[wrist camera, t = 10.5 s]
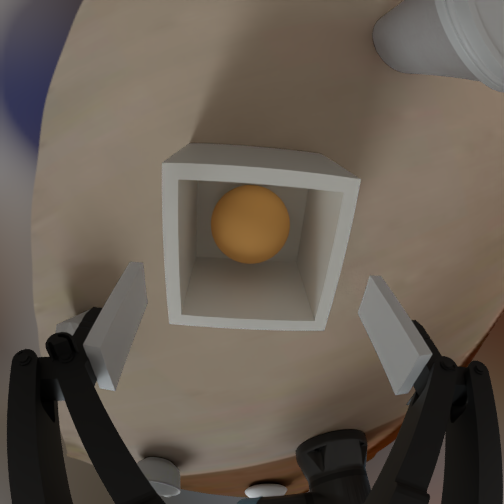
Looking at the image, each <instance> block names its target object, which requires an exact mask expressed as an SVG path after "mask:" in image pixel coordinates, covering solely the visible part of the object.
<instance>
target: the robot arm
mask: <svg viewBox="0 0 504 504" xmlns="http://www.w3.org/2000/svg"><path fill="white" fill-rule="evenodd" d="M147 304H148V301H147V294H146V285H145V276H144V266H143V262H130V263H129V264H128V266H127V268H126V269H125V271H124V273H123V274H122V276H121V278H120V279H119V281H118V283H117V284H116V286H115V288H114V289H113V291H112V293H111V294H110V296H109V298H108V300H107V301H106V303H105V305H104V307H103V308H97V307H93V308H92V309H90V310H89V311H88V312H87V313H86V314H85V315H84V317H83V319H82V322H80V324H79V326H78V327H77V329H76V331H75V333H74V334H73V336H72V335H71V334H69V333H67V332H59V333H55V334H53V335H51V336H50V337H49V338H48V340H47V342H46V349H47V352H48V354H49V356H50V357H39V358H38V357H37V355H36V353H35V352H34V351H32V350H30V349H25V350H21V351H19V352H18V353H16V354H15V356H14V357H13V360H12V365H11V373H10V383H9V394H8V411H7V454H8V471H9V482H10V491H11V499H12V504H73V502H72V498H71V494H70V490H69V484H68V480H67V474H66V469H65V463H64V457H63V451H62V444H61V436H60V426H59V416H58V402H57V401H62V400H65V402H66V405H67V407H68V410H69V412H70V415H71V417H72V420H73V422H74V425H75V427H76V429H77V432H78V434H79V436H80V438H81V441H82V443H83V445H84V447H85V449H86V451H87V453H88V455H89V457H90V459H91V461H92V463H93V465H94V467H95V469H96V471H97V473H98V474H99V477H100V478H101V480H102V482H103V483H104V485H105V487H106V489H107V491H108V492H109V494H110V496H111V497H112V499H113V501H114V502H115V504H165V503H164V501H163V500H162V499H161V497H160V496H159V495H158V494H157V492H156V491H155V489H154V488H153V487H152V485H151V484H150V483H149V481H148V480H147V478H146V477H145V475H144V474H143V472H142V471H141V469H140V468H139V466H138V465H137V463H136V462H135V460H134V459H133V457H132V455H131V454H130V452H129V451H128V449H127V447H126V446H125V444H124V442H123V441H122V439H121V437H120V435H119V434H118V432H117V430H116V428H115V427H114V425H113V423H112V421H111V419H110V417H109V416H108V414H107V412H106V410H105V408H104V406H103V404H102V402H101V400H100V398H99V396H98V394H97V392H96V390H95V388H94V386H95V383H96V381H97V382H98V385H99V387H100V388H102V389H107V390H112V391H115V390H116V387H117V385H118V382H119V379H120V376H121V373H122V370H123V367H124V364H125V361H126V359H127V356H128V353H129V350H130V348H131V345H132V342H133V340H134V337H135V334H136V332H137V329H138V326H139V324H140V321H141V319H142V316H143V314H144V311H145V309H146V306H147ZM358 315H359V317H360V319H361V321H362V323H363V325H364V327H365V329H366V331H367V333H368V335H369V337H370V340H371V342H372V344H373V346H374V348H375V350H376V352H377V355H378V357H379V359H380V361H381V363H382V366H383V368H384V370H385V372H386V375H387V377H388V379H389V382H390V384H391V386H392V388H393V391H394V393H395V395H400V394H406V393H408V392H409V391H410V389H411V388H412V386H413V385H414V388H415V390H416V392H415V393H414V394H413V396H412V397H411V399H410V400H409V402H408V403H407V404H406V405H409V404H410V405H409V408H408V411H407V413H406V416H405V418H404V421H403V424H402V426H401V428H400V431H399V433H398V436H397V438H396V440H395V443H394V445H393V447H392V449H391V452H390V454H389V456H388V458H387V460H386V462H385V464H384V466H383V469H382V471H381V473H380V475H379V477H378V479H377V480H376V482H375V484H374V486H373V488H372V490H371V488H370V484H369V480H368V477H367V473H366V468H365V467H366V457H367V440H366V437H365V434H364V433H363V432H361V431H358V430H341V431H335V432H330V433H326V434H323V435H320V436H317V437H314V438H312V439H310V440H308V441H306V442H304V443H303V444H301V445H300V446H299V447H298V448H297V450H296V459H297V463H298V465H299V467H300V468H301V470H302V472H303V474H304V475H305V477H306V479H307V481H308V483H309V489H310V492H308V493H300V494H292V495H282V496H267V497H263V496H260V497H256V498H245V499H241V500H240V501H239V502H238V503H237V504H428V503H429V500H430V495H429V494H427V488H428V485H429V483H430V480H431V477H432V474H433V472H434V469H435V466H436V463H437V459H438V456H439V453H440V449H441V446H442V442H443V439H444V435H445V431H446V444H445V447H446V448H445V469H444V483H443V493H442V501H441V504H502V502H503V501H502V500H503V478H502V477H503V475H502V456H501V444H500V434H499V427H498V419H497V412H496V406H495V400H494V395H493V390H492V385H491V380H490V376H489V371H488V369H487V367H486V366H485V365H484V364H483V363H481V362H479V361H472V362H471V363H470V364H469V366H468V367H467V368H465V367H458V366H457V365H456V363H455V362H454V361H453V360H452V359H450V358H448V357H445V356H441V354H440V353H439V351H438V349H437V348H436V346H435V345H434V343H433V342H432V340H431V339H430V337H429V335H428V334H427V332H426V331H425V329H424V328H423V326H422V325H421V324H419V323H418V322H417V321H416V320H411V319H410V317H409V316H408V314H407V313H406V311H405V310H404V308H403V307H402V305H401V304H400V302H399V301H398V300H397V298H396V297H395V295H394V294H393V292H392V291H391V289H390V288H389V286H388V285H387V284H386V282H385V281H384V279H383V278H382V277H381V276H371V275H370V277H369V280H368V283H367V286H366V290H365V293H364V296H363V299H362V302H361V305H360V308H359V311H358Z"/></svg>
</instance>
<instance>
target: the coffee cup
mask: <svg viewBox="0 0 504 504" xmlns="http://www.w3.org/2000/svg"><path fill="white" fill-rule="evenodd" d="M373 42H374V45H375V48H376V50H377V52H378V54H379V56H380V57H381V58H382V60H383V61H384V62H385V63H386V64H387V65H389V66H390V67H391V68H393V69H395V70H397V71H399V72H402V73H410V74H425V75H437V76H446V77H455V78H462V79H469V80H475V81H480V82H482V83H484V84H485V85H486V86H488V87H490V88H491V89H493V90H496V91H499V92H504V0H404V1H403V2H401V3H400V4H399V5H397V6H396V7H395V8H393V9H392V10H391V11H389V12H388V13H387V14H385V15H384V16H383V17H381V18H380V19H379V20H378V21H377V22H376V24H375V26H374V29H373Z"/></svg>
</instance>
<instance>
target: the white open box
mask: <svg viewBox="0 0 504 504" xmlns="http://www.w3.org/2000/svg"><path fill="white" fill-rule="evenodd" d="M360 182H361V179H360V178H358V177H357V176H355V175H354V174H352V173H351V172H349V171H348V170H346V169H345V168H343V167H342V166H340V165H338V164H337V163H335V162H334V161H332V160H331V159H329V158H327V157H326V156H324V155H323V154H320V153H312V152H304V151H296V150H287V149H278V148H267V147H256V146H243V145H228V144H208V143H189V144H187V145H186V146H184V147H183V148H182V149H180V150H179V151H177V152H176V153H175V154H173V155H172V156H171V157H169V158H168V159H166V160H165V161H164V162H162V217H163V245H164V264H165V279H166V292H167V304H168V315H169V324H177V325H189V326H202V327H216V328H234V329H255V330H290V331H324V330H325V326H326V323H327V320H328V316H329V313H330V309H331V306H332V302H333V299H334V295H335V291H336V288H337V284H338V280H339V276H340V272H341V269H342V265H343V261H344V256H345V252H346V248H347V244H348V240H349V235H350V231H351V226H352V222H353V217H354V212H355V207H356V203H357V198H358V192H359V187H360ZM243 185H257V186H262V187H265V188H267V189H269V190H271V191H272V192H274V193H275V194H276V195H277V196H278V197H279V198H280V199H281V200H282V201H283V203H284V204H285V206H286V208H287V211H288V214H289V218H290V230H289V235H288V238H287V240H286V242H285V244H284V246H283V247H282V249H281V250H280V251H279V252H278V253H277V254H276V255H275V256H273V257H272V258H270V259H268V260H266V261H264V262H260V263H256V264H245V263H240V262H237V261H234V260H232V259H231V258H229V257H227V256H226V255H225V254H224V253H223V252H222V251H221V250H220V249H219V248H218V246H217V245H216V243H215V241H214V239H213V236H212V232H211V217H212V213H213V210H214V208H215V206H216V204H217V202H218V201H219V200H220V199H221V197H222V196H223V195H224V194H226V193H227V192H228V191H230V190H232V189H234V188H236V187H239V186H243Z"/></svg>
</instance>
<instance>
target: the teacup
mask: <svg viewBox="0 0 504 504" xmlns="http://www.w3.org/2000/svg"><path fill="white" fill-rule="evenodd" d="M137 465H138V466H139V468H140V469H141V471H142V472H143V474H144V475H145V477H146V478H147V480H148V481H149V483H150V484H151V485H152V487H153V488H154V489H155V491H156V492H157V494H158V495H164V496H165V497H170V496H172V495H177V494H179V493H180V472H179V470H178V468H177V467H176V466H175V465H173V463H172V462H170V461H168V460H166V459H163V458H158V457H148V458H145V459H143V460H141V461H139V462H138V463H137Z"/></svg>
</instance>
